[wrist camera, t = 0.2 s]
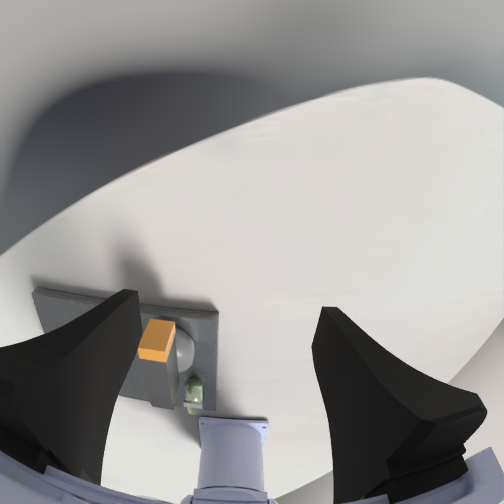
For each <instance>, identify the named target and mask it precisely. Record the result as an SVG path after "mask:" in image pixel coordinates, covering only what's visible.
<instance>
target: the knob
mask: <svg viewBox="0 0 504 504" xmlns="http://www.w3.org/2000/svg"><path fill="white" fill-rule="evenodd" d="M194 353H195V345H194V342H193V340H192V338H191V337H190V336H189V335H188V334H187V333H186V332H185V331H183V330H182V329H180V328H178V327H175V321H166V320H158V319H151V318H150V320H149V323H148V325H147V327H146V329H145V331H144V334H143V336H142V338H141V340H140V344H139V347H138V354H139V358H140V359H141V363H142V368H143V372H144V377H145V381H146V385H147V389H148V393H149V397H150V401H151V405H152V406H154V407H160V408H166V409H172V410H173V409H174V405H175V400H176V396H177V391H178V387H179V382H180V379H179V372H183V371H185V370H187V369H188V368H189V367H190V366H191V365H192V362H193V358H194Z"/></svg>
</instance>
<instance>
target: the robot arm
mask: <svg viewBox="0 0 504 504" xmlns="http://www.w3.org/2000/svg"><path fill="white" fill-rule="evenodd" d="M142 333H143V329H142V322H141V315H140V307H139V299H138V291H134V290H127V289H123V290H121V291H119V292H118V293H116V294H114V295H113V296H111V297H109V298H108V299H106V300H105V301H103V302H102V303H100V304H99V305H97V306H95V307H94V308H92V309H91V310H89V311H87V312H86V313H84V314H82V315H81V316H79V317H77V318H75V319H74V320H72V321H70V322H69V323H67V324H65V325H63V326H61V327H59V328H57V329H55V330H52V331H50V332H48V333H46V334H43V335H40V336H38V337H35V338H32V339H29V340H27V341H24V342H20V343H17V344H13V345H9V346H5V347H0V504H170V503H164V502H159V501H154V500H150V499H145V498H141V497H137V496H133V495H129V494H125V493H122V492H118V491H115V490H111V489H108V488H105V487H102V486H100V485H101V473H102V463H103V456H104V450H105V444H106V439H107V434H108V430H109V425H110V421H111V417H112V413H113V410H114V406H115V402H116V400H117V397H118V394H119V392H120V390H121V387H122V385H123V383H124V380H125V378H126V376H127V374H128V371H129V369H130V367H131V365H132V362H133V360H134V358H135V356H136V353H137V350H138V347H139V344H140V340H141V337H142ZM311 347H312V355H313V362H314V368H315V372H316V376H317V380H318V383H319V387H320V391H321V394H322V398H323V401H324V405H325V409H326V413H327V417H328V423H329V430H330V438H331V448H332V459H333V476H334V477H333V478H334V501H333V504H499V503H500V502H501V501H503V500H504V473H503V471H502V469H501V466H500V464H499V462H498V460H497V458H496V456H495V454H494V452H493V450H492V448H491V447H488V448H486V449H484V450H482V451H481V452H479V453H477V454H475V455H473V456H471V457H470V458H468V459H466V460H465V461H464V458H463V456H462V455H463V454H464V453H465V452H466V449H465V447H464V445H463V444H464V443H465V442H466V440H468V439H469V437H470V436H471V435H472V434H473V433H474V432H475V431H476V430H477V429H478V428H479V427H480V425H481V424H482V423H483V421H484V420H485V418H486V415H487V409H486V408H485V406H484V404H483V403H482V401H481V399H480V398H479V396H478V394H476V393H473V392H469V391H466V390H462V389H459V388H456V387H453V386H451V385H448V384H446V383H443V382H441V381H438V380H436V379H434V378H432V377H430V376H428V375H426V374H424V373H422V372H420V371H418V370H416V369H415V368H413V367H411V366H409V365H408V364H406V363H405V362H403V361H402V360H400V359H399V358H397V357H396V356H394V355H393V354H391V353H390V352H389V351H387V350H386V349H385V348H384V347H382V346H381V345H380V344H378V343H377V342H376V341H375V340H374V339H372V338H371V337H370V336H369V335H368V334H367V333H365V332H364V331H363V330H362V329H361V328H360V327H359V326H358V325H357V324H356V323H354V322H353V321H352V320H351V319H350V318H349V317H348V316H347V315H346V314H345V313H343V312H342V311H341V310H340V309H339V308H337V307H322V310H321V313H320V317H319V321H318V325H317V328H316V332H315V335H314V339H313V342H312V346H311ZM268 427H269V422H268V421H257V420H235V419H221V418H210V417H200V418H199V432H200V443H201V457H200V466H199V476H198V486H197V489H194V495H187V496H186V497H185V498H184V499H183V500H182V501H181V504H278V503H277V502H276V501H275V500H274V499H272V498H269V499H267V492H264V471H263V445H264V441H265V438H266V434H267V431H268Z"/></svg>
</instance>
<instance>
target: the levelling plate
mask: <svg viewBox="0 0 504 504" xmlns="http://www.w3.org/2000/svg"><path fill="white" fill-rule="evenodd" d="M31 294H32V297H33V300H34V304H35V307H36V310H37V313H38V316H39V319H40V322H41V325H42V328H43V331H44V333H45V334H46V333H48V332H50V331H52V330H55V329H57V328H59V327H61V326H63V325H65V324H67V323H69V322H70V321H72V320H74V319H75V318H77V317H79V316H81V315H82V314H84V313H86V312H87V311H89V310H91V309H92V308H94V307H95V306H97V305H99V304H100V303H102V302H103V301H105V300H106V299H103V298H97V297H90V296H84V295H78V294H73V293H67V292H61V291H56V290H51V289H46V288H41V287H37V288H36V289H35V290H34V291H33V292H32V293H31ZM139 307H140V315H141V322H142V329H143V333H142V336H143V334H144V331H145V329H146V327H147V325H148V323H149V320H150V318H151V319H158V320H166V321H175V327H178V328H180V329H182V330H183V331H185V332H186V333H187V334H188V335H189V336H190V337H191V338H192V340H193V342H194V345H195V353H194V358H193V362H192V365H191V366H190V367H189V368H188V369H187V370H185V371H183V372H179V379H180V382H179V387H178V391H177V396H176V400H175V405H174V406H180V407H187V411H188V413H189V414H191V415H200V414H201V413H202V412H203V409H205V410H215V411H216V403H217V359H218V326H219V312H210V311H199V310H189V309H179V308H170V307H162V306H153V305H145V304H139ZM141 338H142V337H141ZM118 395H120V396H124V397H129V398H133V399H138V400H144V401H149V402H151V401H150V397H149V393H148V389H147V385H146V381H145V377H144V372H143V368H142V363H141V359H140V358H139V354H138V350H137V353H136V356H135V358H134V360H133V362H132V365H131V367H130V369H129V371H128V374H127V376H126V378H125V380H124V383H123V385H122V387H121V390H120V392H119V394H118Z"/></svg>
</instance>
